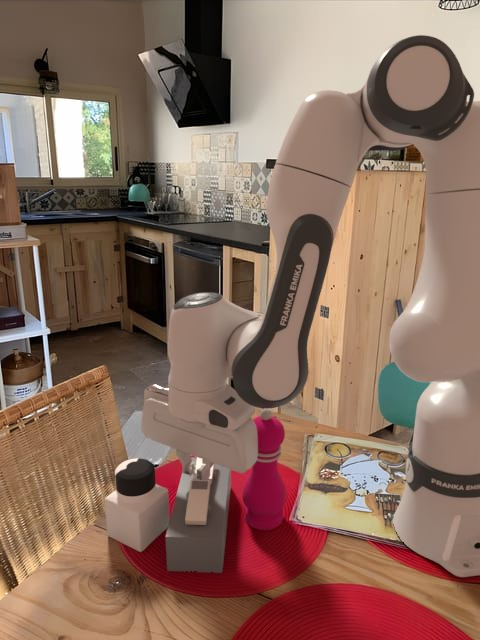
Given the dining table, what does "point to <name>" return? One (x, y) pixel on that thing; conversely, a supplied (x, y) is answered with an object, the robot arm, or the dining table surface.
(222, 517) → the breaker panel
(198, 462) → the paddle
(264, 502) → the pepper mill
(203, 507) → the paddle on
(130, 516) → the medicine bottle
